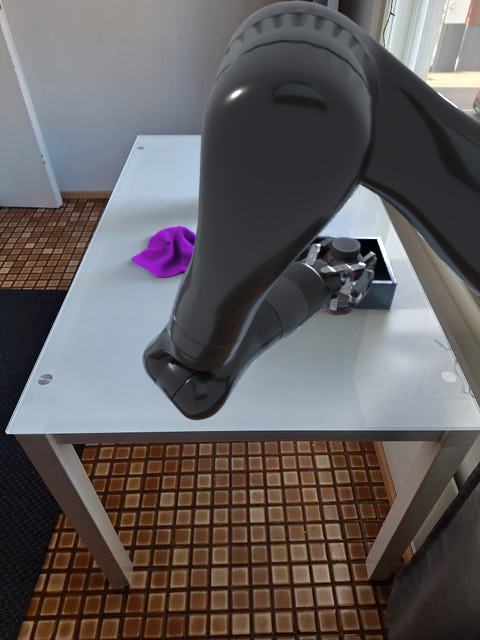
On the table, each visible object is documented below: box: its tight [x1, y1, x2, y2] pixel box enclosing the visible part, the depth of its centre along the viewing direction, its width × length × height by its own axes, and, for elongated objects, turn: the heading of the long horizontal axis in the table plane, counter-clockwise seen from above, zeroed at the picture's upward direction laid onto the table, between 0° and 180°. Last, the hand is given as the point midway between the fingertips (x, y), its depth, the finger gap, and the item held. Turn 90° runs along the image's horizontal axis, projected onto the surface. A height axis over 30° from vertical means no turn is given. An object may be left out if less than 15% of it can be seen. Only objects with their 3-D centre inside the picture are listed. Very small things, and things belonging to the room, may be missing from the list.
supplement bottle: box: [321, 236, 363, 316], centre depth 71 cm, size 6×6×11 cm
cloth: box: [130, 225, 196, 278], centre depth 99 cm, size 22×19×6 cm
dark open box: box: [301, 235, 398, 310], centre depth 91 cm, size 16×16×6 cm
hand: (353, 250), depth 70 cm, fingers closed on supplement bottle, 6 cm apart
